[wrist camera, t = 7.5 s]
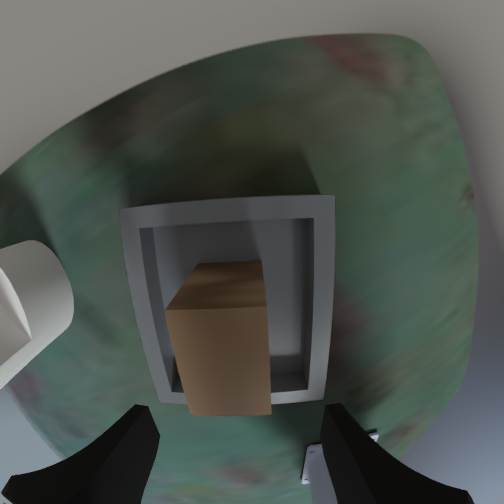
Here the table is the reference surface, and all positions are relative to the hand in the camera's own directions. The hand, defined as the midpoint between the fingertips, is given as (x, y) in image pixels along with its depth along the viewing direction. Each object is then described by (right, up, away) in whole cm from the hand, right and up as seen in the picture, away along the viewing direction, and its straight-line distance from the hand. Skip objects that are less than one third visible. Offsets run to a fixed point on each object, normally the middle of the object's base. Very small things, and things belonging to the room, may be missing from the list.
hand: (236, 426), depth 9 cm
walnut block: (-1, +3, +8) cm, 9 cm away
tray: (-1, +4, +9) cm, 10 cm away
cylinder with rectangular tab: (-19, +4, +9) cm, 21 cm away
